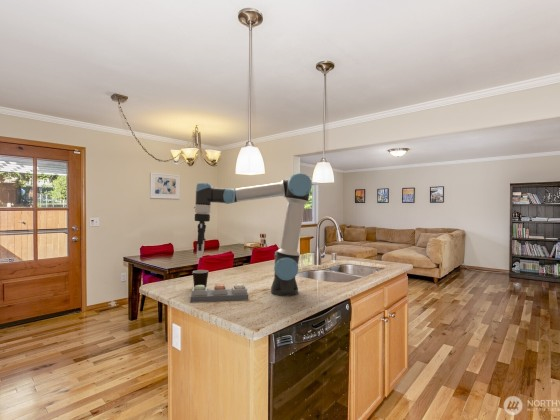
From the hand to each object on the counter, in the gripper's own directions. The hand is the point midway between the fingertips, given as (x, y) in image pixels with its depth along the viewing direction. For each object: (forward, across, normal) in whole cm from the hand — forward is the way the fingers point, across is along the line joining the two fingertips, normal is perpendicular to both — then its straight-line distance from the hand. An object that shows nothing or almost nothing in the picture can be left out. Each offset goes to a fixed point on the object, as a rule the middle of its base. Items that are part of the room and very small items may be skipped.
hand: (200, 255), depth 158 cm
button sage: (+18, +1, +1) cm, 18 cm away
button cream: (+17, +1, +21) cm, 27 cm away
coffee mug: (+22, -18, +1) cm, 28 cm away
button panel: (+21, +1, +11) cm, 24 cm away
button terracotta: (+17, +1, +11) cm, 20 cm away
